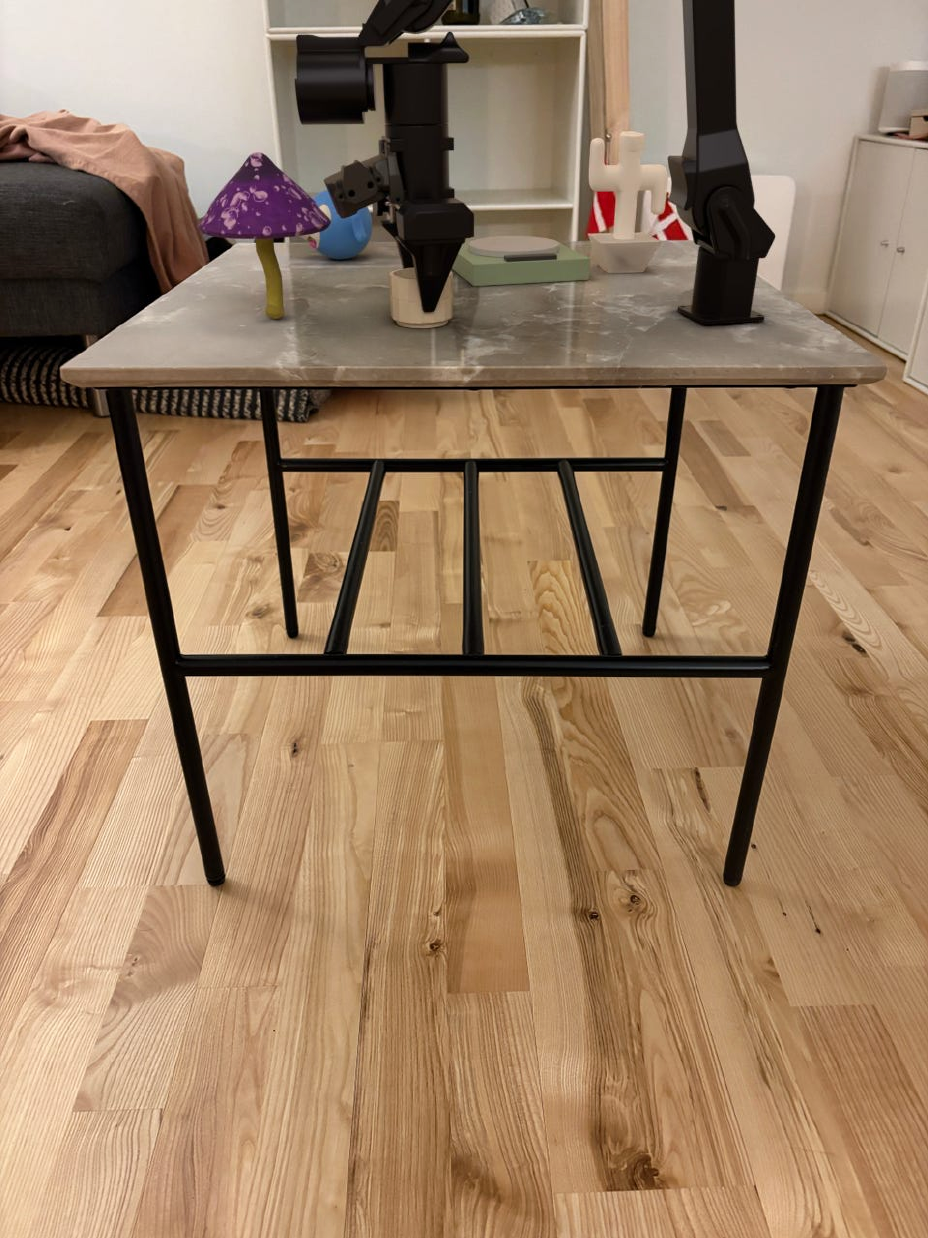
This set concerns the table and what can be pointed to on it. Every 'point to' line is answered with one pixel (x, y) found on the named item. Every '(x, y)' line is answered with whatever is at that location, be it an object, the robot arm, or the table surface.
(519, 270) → the scale
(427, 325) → the beige wooden cup
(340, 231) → the blue mole toy
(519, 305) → the table surface
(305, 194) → the decorative mushroom
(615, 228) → the figurine
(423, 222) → the robot arm
